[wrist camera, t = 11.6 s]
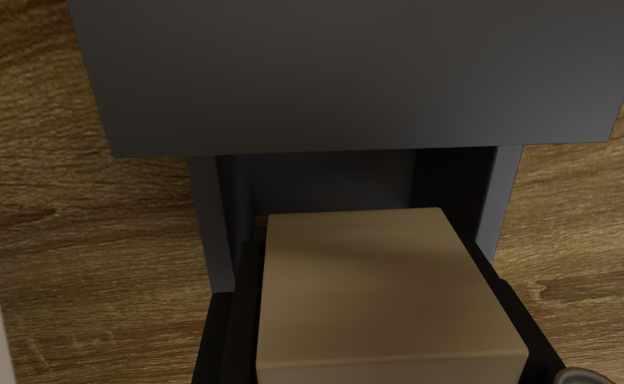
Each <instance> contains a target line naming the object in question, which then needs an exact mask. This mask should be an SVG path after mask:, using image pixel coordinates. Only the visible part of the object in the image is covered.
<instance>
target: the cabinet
mask: <svg viewBox="0 0 624 384" xmlns="http://www.w3.org/2000/svg"><path fill="white" fill-rule="evenodd" d="M66 3H67V6H68V10H69V13H70V16H71V20H72V23H73V26H74V30H75V33H76V37H77V40H78V43H79V47H80V50H81V53H82V57H83V60H84V63H85V67H86V70H87V73H88V77H89V80H90V84H91V87H92V90H93V94H94V97H95V100H96V104H97V107H98V110H99V114H100V117H101V120H102V124H103V127H104V131H105V134H106V137H107V141H108V144H109V147H110V151H111V154H112V157H113V158H114V159H120V158H150V157H180V156H210V155H240V154H270V153H300V152H330V151H360V150H390V149H420V148H449V147H479V146H509V145H539V144H569V143H599V142H608V140H609V138H610V135H611V132H612V130H613V127H614V125H615V122H616V119H617V117H618V114H619V112H620V109H621V106H622V104H623V101H624V0H66Z"/></svg>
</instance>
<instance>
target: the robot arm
mask: <svg viewBox="0 0 624 384" xmlns="http://www.w3.org/2000/svg"><path fill="white" fill-rule="evenodd" d="M456 234H457V235H458V237H459V239H460V240H461V242H462V243H463V245H464V247H465V248H466V250H467V252H468V253H469V255H470V256H471V258H472V260H473V261H474V263H475V264H476V266H477V268H478V269H479V271H480V272H481V274H482V276H483V277H484V279H485V280H486V282H487V284H488V285H489V287H490V289H491V290H492V292H493V293H494V295H495V297H496V298H497V300H498V301H499V303H500V305H501V306H502V308H503V309H504V311H505V313H506V314H507V316H508V317H509V319H510V321H511V322H512V324H513V325H514V327H515V329H516V330H517V332H518V334H519V335H520V337H521V338H522V340H523V342H524V343H525V345H526V346H527V348H528V352H529V355H528V358H527V360H526V363H525V366H524V368H523V371H522V373H521V376H520V378H519V381H518V384H616V383H615V382H613V381H612V380H610V379H609V378H607V377H606V376H604V375H601V374H599V373H597V372H595V371H592V370H588V369H584V368H580V367H569V368H566V366H565V365H564V363H563V362H562V360H561V359H560V357H559V356H558V354H557V353H556V352H555V350H554V349H553V347H552V346H551V344H550V343H549V341H548V340H547V338H546V337H545V335H544V334H543V333H542V331H541V330H540V328H539V327H538V325H537V324H536V322H535V321H534V319H533V318H532V317H531V315H530V314H529V312H528V311H527V309H526V308H525V306H524V305H523V303H522V302H521V301H520V299H519V298H518V296H517V295H516V293H515V292H514V290H513V289H512V287H511V286H510V285H509V284H508V283H507V281H505V280H503V279H500V278H499V276H498V275H497V273H496V272H495V270H494V269H493V267H492V266H491V264H490V263H489V261H488V260H487V258H486V257H485V255H484V254H483V252H482V251H481V249H480V248H479V246H478V245H477V243H476V242H475V240H474V239H473V237H472V236H471V234H470V233H468V232H456ZM265 249H266V246H264V242H263V241H246V242H242V247H241V252H240V258H239V264H238V270H237V276H236V282H235V287H234V292H217V293H213V295H212V298H211V301H210V305H209V310H208V314H207V318H206V322H205V327H204V331H203V335H202V339H201V344H200V348H199V352H198V356H197V361H196V365H195V369H194V373H193V378H192V382H191V384H258V379H257V372H256V356H257V344H258V332H259V320H260V309H261V297H262V285H263V273H264V261H265Z"/></svg>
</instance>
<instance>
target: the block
mask: <svg viewBox="0 0 624 384" xmlns="http://www.w3.org/2000/svg"><path fill="white" fill-rule="evenodd" d="M528 355H529V352H528V348H527V346H526V345H525V343H524V342H523V340H522V338H521V337H520V335H519V334H518V332H517V330H516V329H515V327H514V325H513V324H512V322H511V321H510V319H509V317H508V316H507V314H506V313H505V311H504V309H503V308H502V306H501V305H500V303H499V301H498V300H497V298H496V297H495V295H494V293H493V292H492V290H491V289H490V287H489V285H488V284H487V282H486V280H485V279H484V277H483V276H482V274H481V272H480V271H479V269H478V268H477V266H476V264H475V263H474V261H473V260H472V258H471V256H470V255H469V253H468V252H467V250H466V248H465V247H464V245H463V243H462V242H461V240H460V239H459V237H458V235H457V234H456V232H455V231H454V229H453V227H452V226H451V224H450V223H449V221H448V219H447V218H446V216H445V215H444V213H443V211H442V210H441V208H438V207H433V208H409V209H385V210H360V211H336V212H312V213H288V214H271V215H269V217H268V226H267V238H266V249H265V261H264V273H263V285H262V297H261V309H260V320H259V332H258V344H257V356H256V372H257V379H258V384H518V381H519V378H520V376H521V373H522V371H523V368H524V366H525V363H526V360H527V358H528Z"/></svg>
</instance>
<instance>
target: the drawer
mask: <svg viewBox="0 0 624 384" xmlns="http://www.w3.org/2000/svg"><path fill="white" fill-rule="evenodd" d="M523 147H524V145H509V146H479V147H449V148H420V149H390V150H360V151H330V152H300V153H270V154H240V155H210V156H185V158H186V163H187V168H188V173H189V178H190V183H191V188H192V193H193V198H194V204H195V209H196V214H197V219H198V224H199V229H200V234H201V239H202V244H203V250H204V255H205V260H206V265H207V270H208V275H209V280H210V285H211V290H212V295H213V293H217V292H234V287H235V282H236V276H237V270H238V264H239V258H240V252H241V247H242V242H246V241H263V242H264V246H266V238H267V226H255V221H256V216H263V215H271V214H288V213H312V212H336V211H360V210H385V209H409V208H433V207H438V208H441V210H442V211H443V213H444V215H445V216H446V218H447V219H448V221H449V223H450V224H451V226H452V227H453V229H454V231H455V232H468V233H470V234H471V236H472V237H473V239H474V240H475V242H476V243H477V245H478V246H479V248H480V249H481V251H482V252H483V254H484V255H485V257H486V258H487V260H488V261H489V263H490V264H492V261H493V257H494V253H495V250H496V246H497V242H498V239H499V235H500V231H501V228H502V224H503V220H504V217H505V213H506V209H507V206H508V202H509V198H510V195H511V191H512V187H513V184H514V180H515V176H516V173H517V169H518V166H519V162H520V158H521V155H522V151H523Z"/></svg>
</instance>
